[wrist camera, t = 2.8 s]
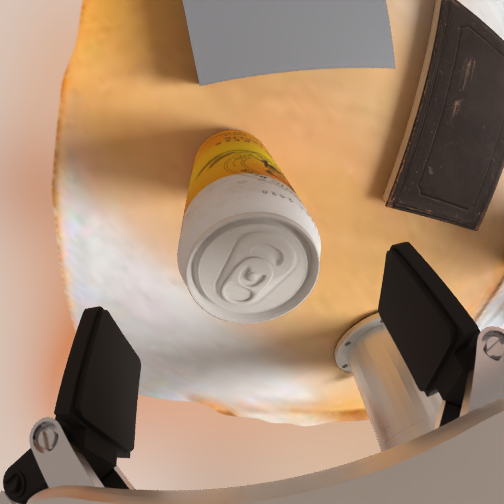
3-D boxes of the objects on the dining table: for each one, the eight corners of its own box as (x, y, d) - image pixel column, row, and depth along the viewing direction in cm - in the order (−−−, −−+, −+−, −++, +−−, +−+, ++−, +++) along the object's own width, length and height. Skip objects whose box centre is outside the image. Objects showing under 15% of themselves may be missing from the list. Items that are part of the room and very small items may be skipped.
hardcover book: (375, 197, 28) (386, 207, 26) (430, -7, 16) (444, -9, 14) (468, 223, 31) (479, 232, 30) (517, 65, 20) (530, 68, 18)
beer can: (282, 152, 24) (358, 251, 12) (242, 209, 27) (271, 344, 14) (219, 114, 22) (227, 172, 9) (181, 176, 24) (151, 299, 12)
